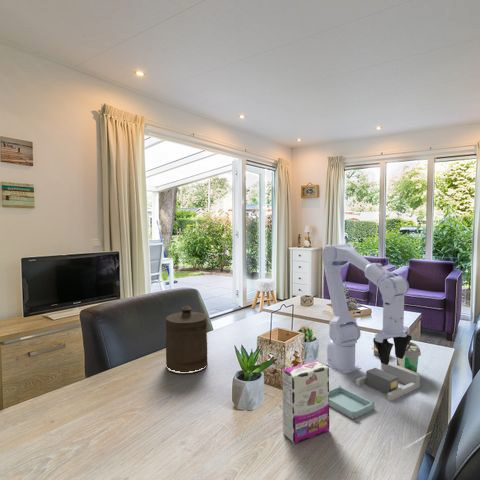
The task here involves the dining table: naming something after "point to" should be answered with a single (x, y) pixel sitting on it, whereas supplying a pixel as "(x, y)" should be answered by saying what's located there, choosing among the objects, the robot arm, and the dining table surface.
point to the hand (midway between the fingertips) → (392, 360)
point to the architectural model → (375, 350)
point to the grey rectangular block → (381, 380)
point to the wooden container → (186, 340)
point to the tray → (349, 402)
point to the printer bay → (403, 376)
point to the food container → (410, 357)
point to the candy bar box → (305, 401)
